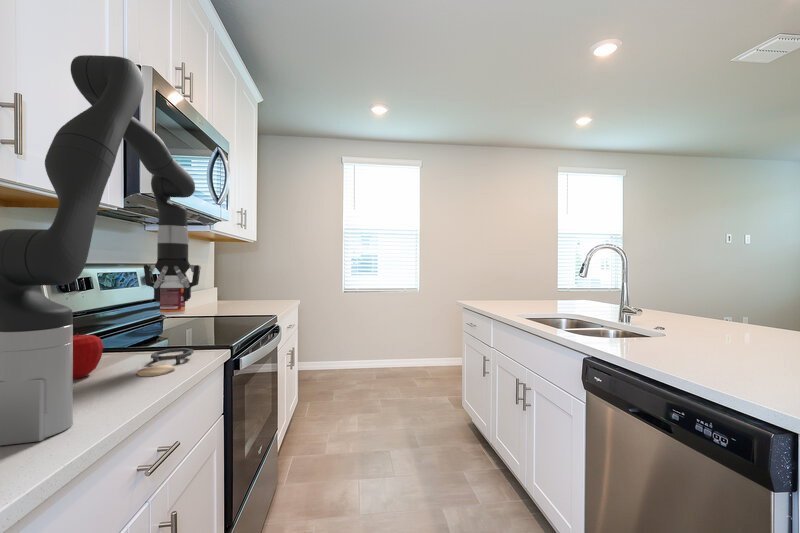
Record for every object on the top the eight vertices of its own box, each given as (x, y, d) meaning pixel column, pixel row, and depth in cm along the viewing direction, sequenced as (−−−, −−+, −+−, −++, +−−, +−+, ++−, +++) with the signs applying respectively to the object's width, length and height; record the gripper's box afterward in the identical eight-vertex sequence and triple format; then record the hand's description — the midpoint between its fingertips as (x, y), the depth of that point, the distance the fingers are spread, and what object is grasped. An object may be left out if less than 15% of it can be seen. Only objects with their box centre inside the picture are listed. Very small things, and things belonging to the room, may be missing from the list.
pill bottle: (186, 314, 104) (186, 275, 104) (159, 316, 101) (159, 275, 101) (184, 312, 109) (184, 275, 109) (159, 313, 106) (159, 275, 106)
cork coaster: (169, 374, 92) (169, 372, 92) (132, 377, 89) (132, 375, 89) (178, 366, 99) (178, 364, 99) (143, 368, 97) (143, 366, 97)
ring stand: (188, 363, 102) (188, 355, 102) (147, 366, 99) (147, 357, 99) (195, 355, 111) (195, 347, 111) (158, 357, 108) (158, 349, 108)
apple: (113, 371, 94) (113, 329, 94) (74, 383, 85) (74, 336, 85) (80, 370, 96) (80, 328, 96) (38, 381, 86) (38, 335, 86)
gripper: (138, 241, 99) (138, 303, 99) (198, 242, 104) (198, 301, 104) (148, 242, 106) (148, 300, 106) (203, 243, 111) (203, 299, 111)
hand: (172, 301), depth 105 cm, fingers closed on pill bottle, 6 cm apart
